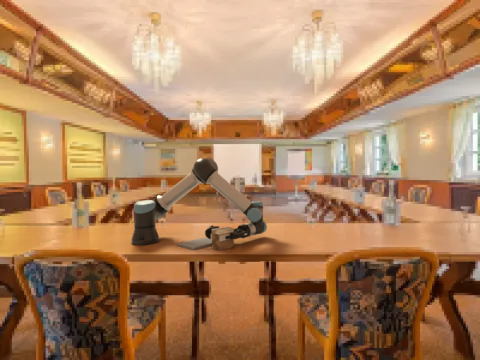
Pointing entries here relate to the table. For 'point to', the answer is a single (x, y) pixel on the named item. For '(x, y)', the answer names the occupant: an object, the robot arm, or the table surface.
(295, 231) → the table surface
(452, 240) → the table surface
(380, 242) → the table surface
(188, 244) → the gray board
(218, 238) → the walnut box
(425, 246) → the table surface
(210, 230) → the end cap
